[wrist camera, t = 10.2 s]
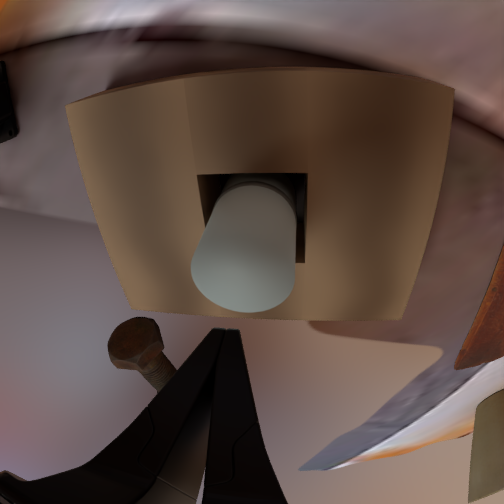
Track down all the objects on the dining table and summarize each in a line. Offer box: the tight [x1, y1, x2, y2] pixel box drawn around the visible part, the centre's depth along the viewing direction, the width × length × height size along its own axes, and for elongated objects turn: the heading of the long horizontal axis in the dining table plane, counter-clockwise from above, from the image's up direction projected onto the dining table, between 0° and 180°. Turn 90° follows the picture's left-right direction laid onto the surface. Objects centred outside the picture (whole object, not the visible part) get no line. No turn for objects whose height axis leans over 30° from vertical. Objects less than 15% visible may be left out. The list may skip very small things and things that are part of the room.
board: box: [65, 67, 455, 321], centre depth 17 cm, size 18×14×4 cm
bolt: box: [108, 317, 177, 394], centre depth 30 cm, size 6×5×15 cm
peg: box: [191, 173, 297, 313], centre depth 15 cm, size 4×4×8 cm
